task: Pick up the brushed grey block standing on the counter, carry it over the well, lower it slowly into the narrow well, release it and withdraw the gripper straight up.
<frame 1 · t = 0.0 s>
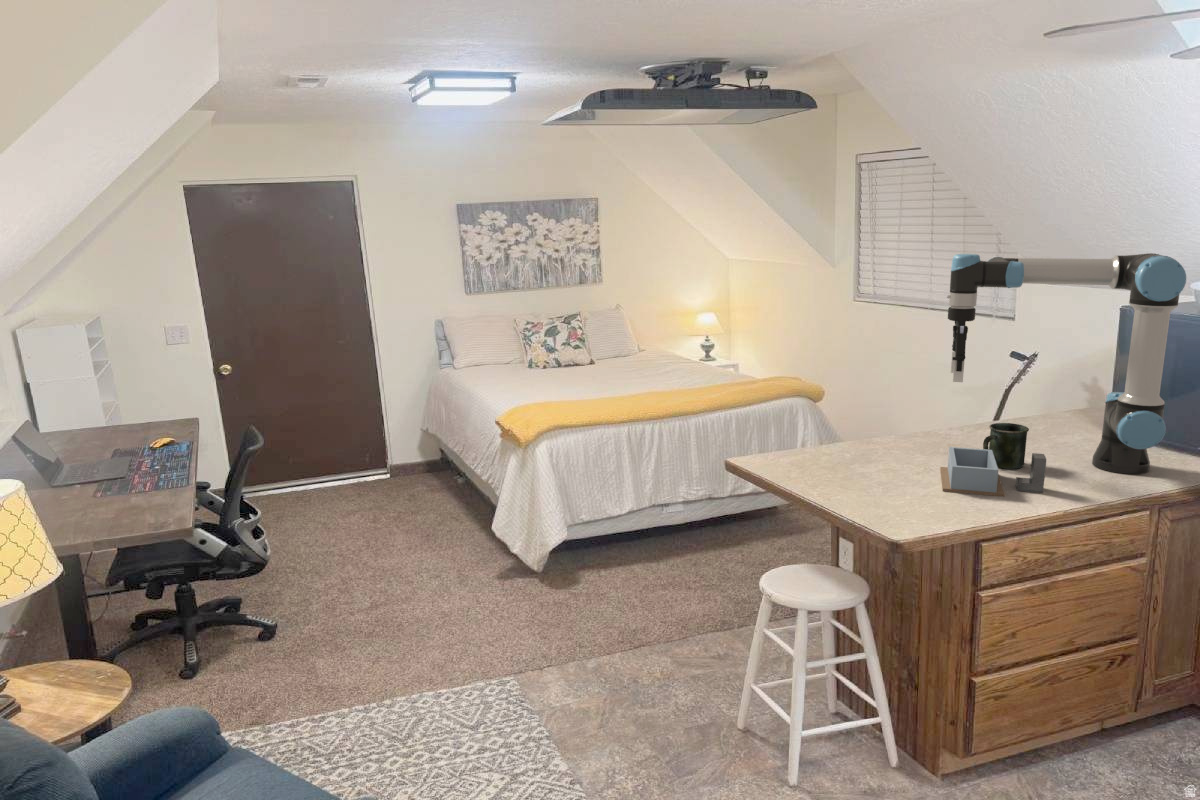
hand: (956, 377, 269), 28 cm above the table, fingers open, 13 cm apart
well: (970, 482, 260), on the table
mug: (1001, 465, 276), on the table
brushed grey block: (1035, 489, 253), on the table
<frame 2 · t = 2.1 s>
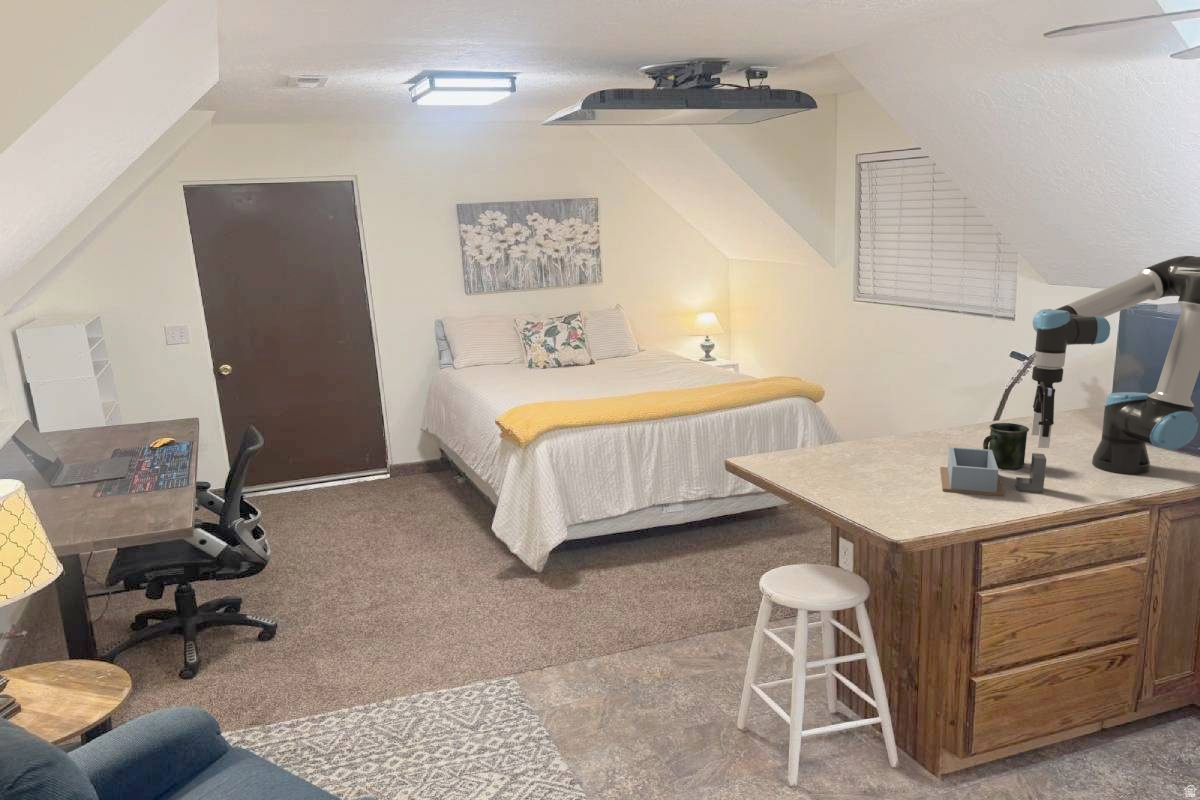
hand: (1039, 441, 250), 14 cm above the table, fingers open, 13 cm apart
nothing on the table moved.
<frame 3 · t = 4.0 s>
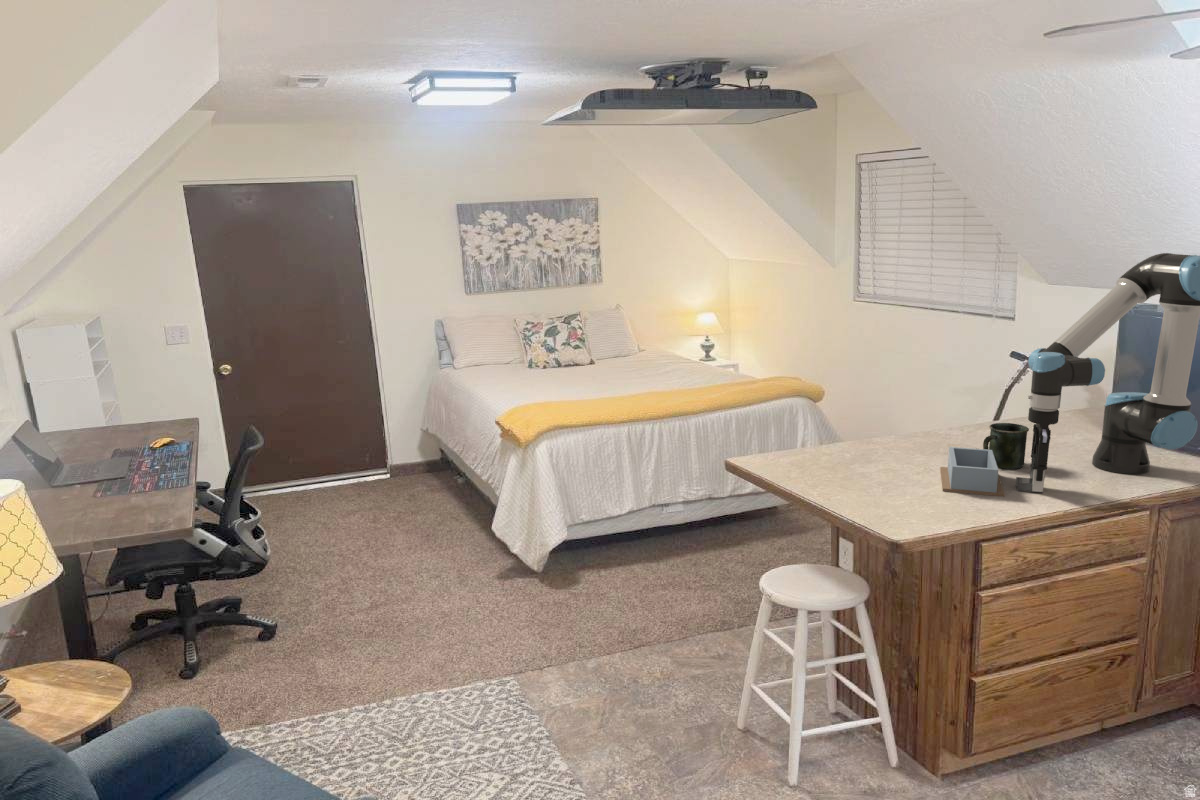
hand: (1036, 487, 253), 1 cm above the table, fingers closed on brushed grey block, 5 cm apart
brushed grey block: (1035, 489, 253), on the table, touching gripper
everything else where it was.
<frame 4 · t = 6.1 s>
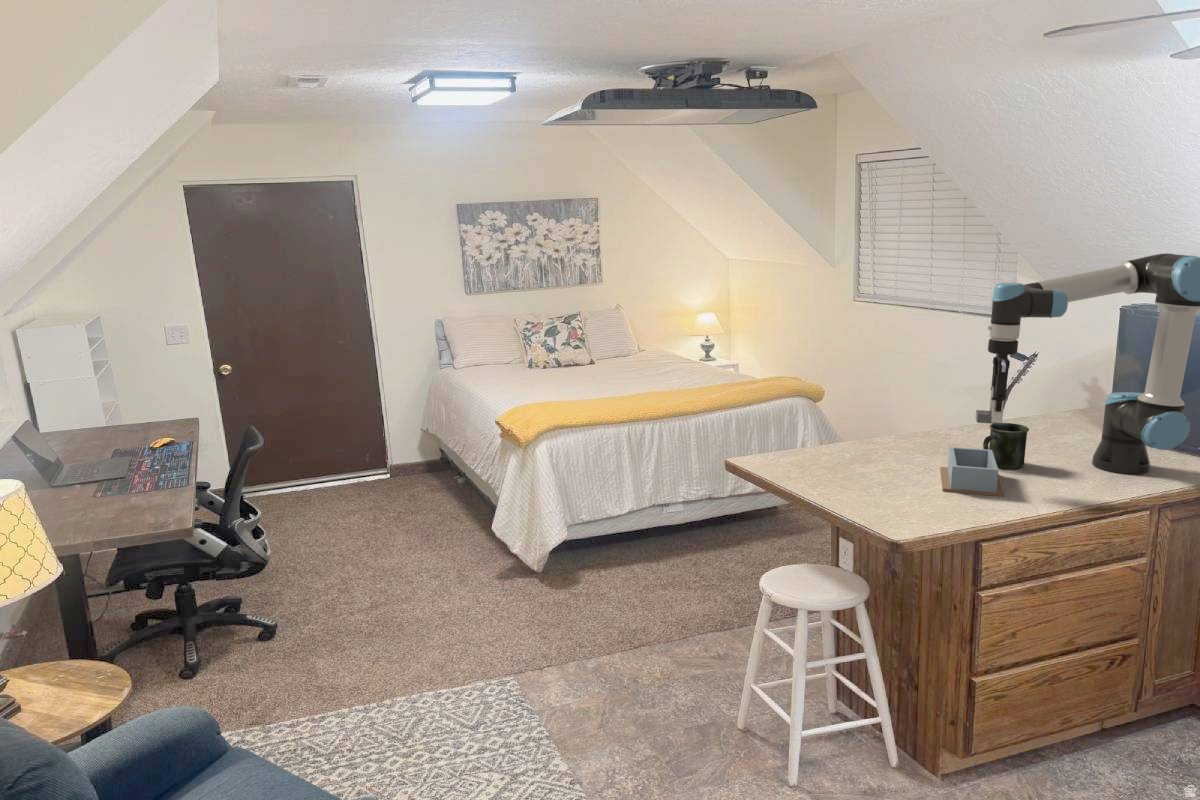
hand: (995, 419, 254), 19 cm above the table, fingers closed on brushed grey block, 5 cm apart
brushed grey block: (995, 421, 254), point 19 cm above the table, touching gripper
everything else where it was.
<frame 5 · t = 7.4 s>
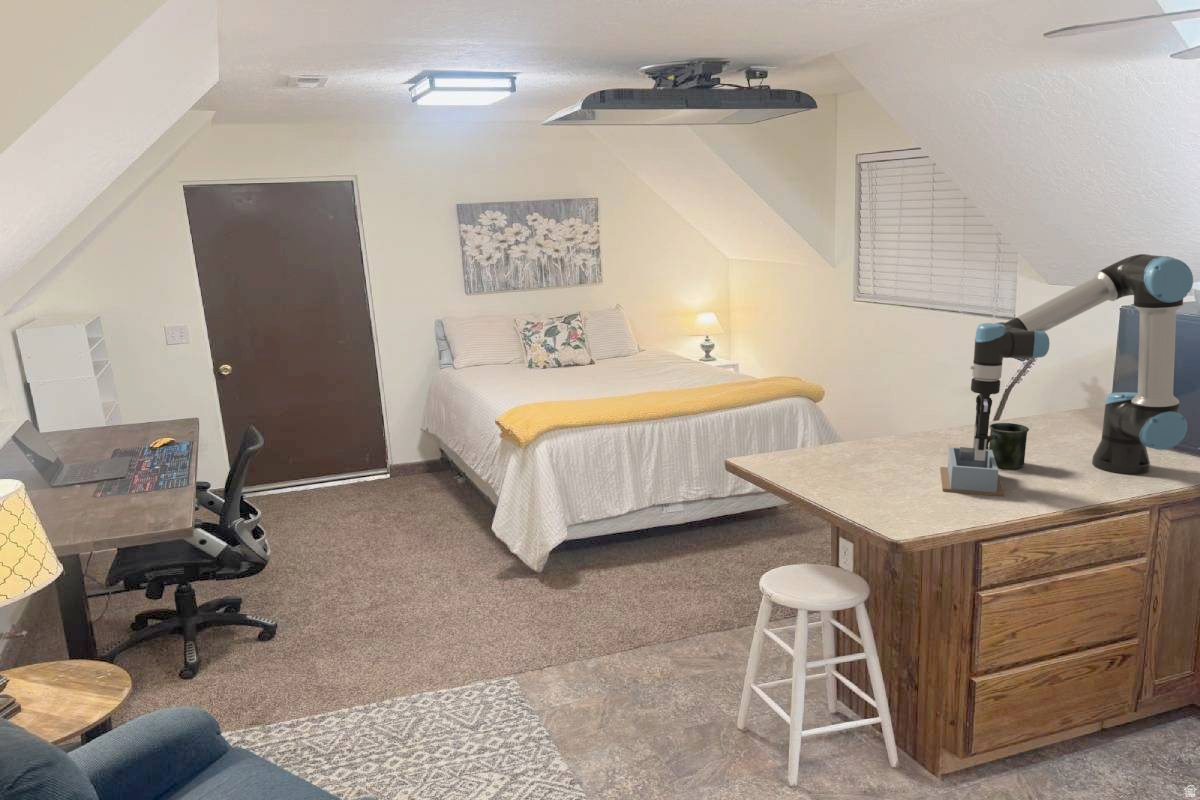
hand: (978, 457, 258), 8 cm above the table, fingers closed on brushed grey block, 5 cm apart
brushed grey block: (978, 459, 258), point 7 cm above the table, touching gripper
everything else where it was.
when the fingers open (3 cm above the table, at t = 8.6 s): brushed grey block drops 2 cm, resting on well.
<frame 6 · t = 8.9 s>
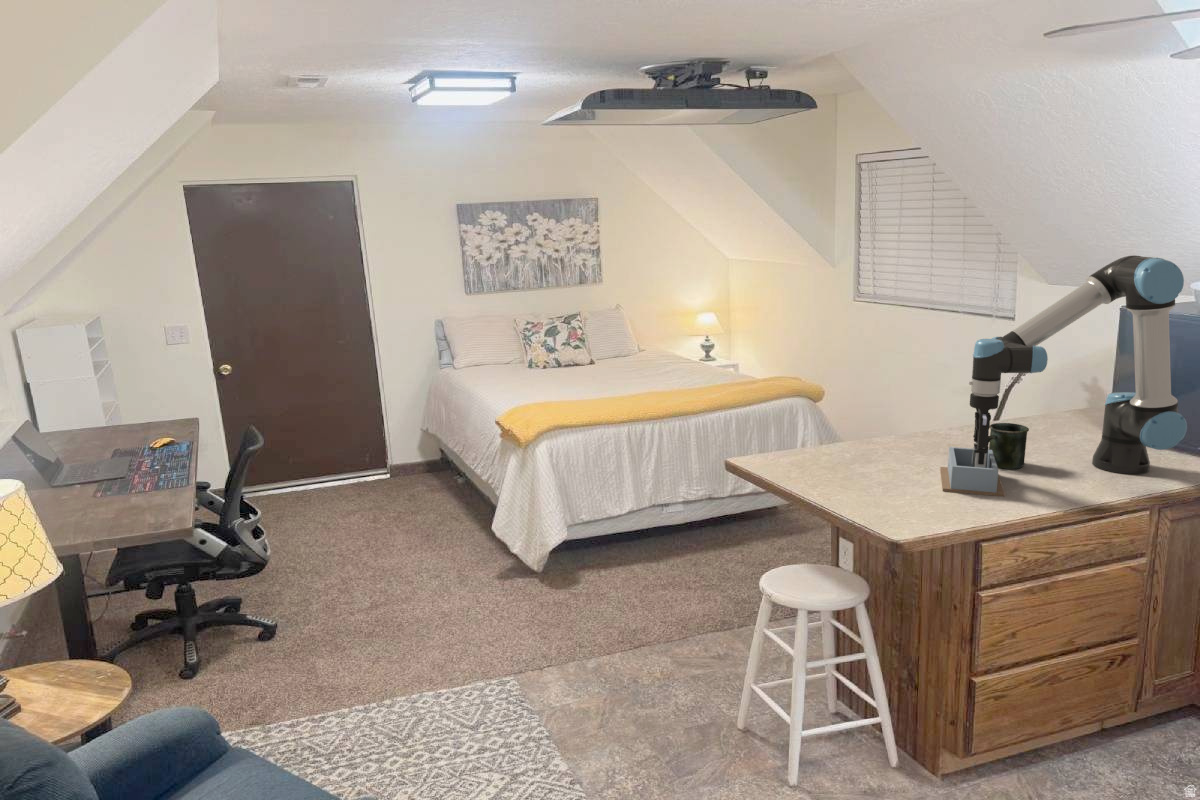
hand: (978, 469, 259), 4 cm above the table, fingers open, 9 cm apart
brushed grey block: (977, 480, 260), point 1 cm above the table, touching well
everything else where it was.
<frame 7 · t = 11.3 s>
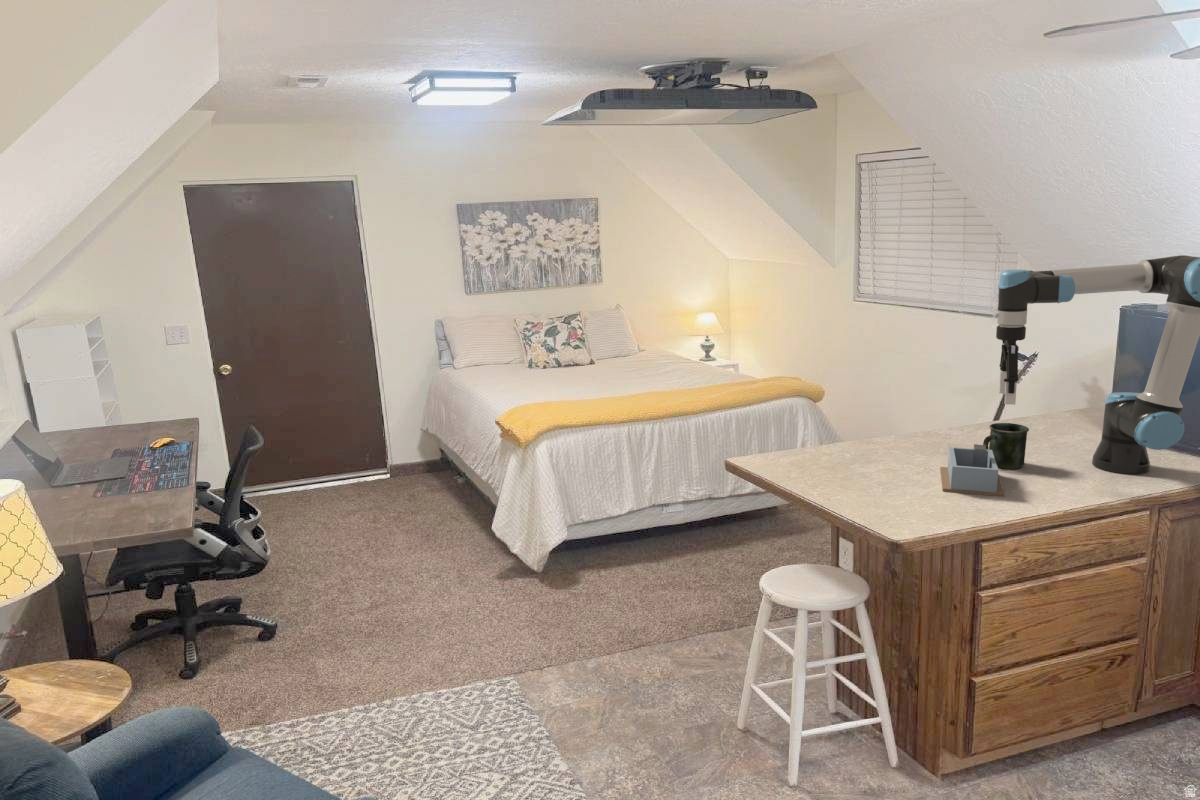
hand: (1006, 398, 256), 24 cm above the table, fingers open, 13 cm apart
nothing on the table moved.
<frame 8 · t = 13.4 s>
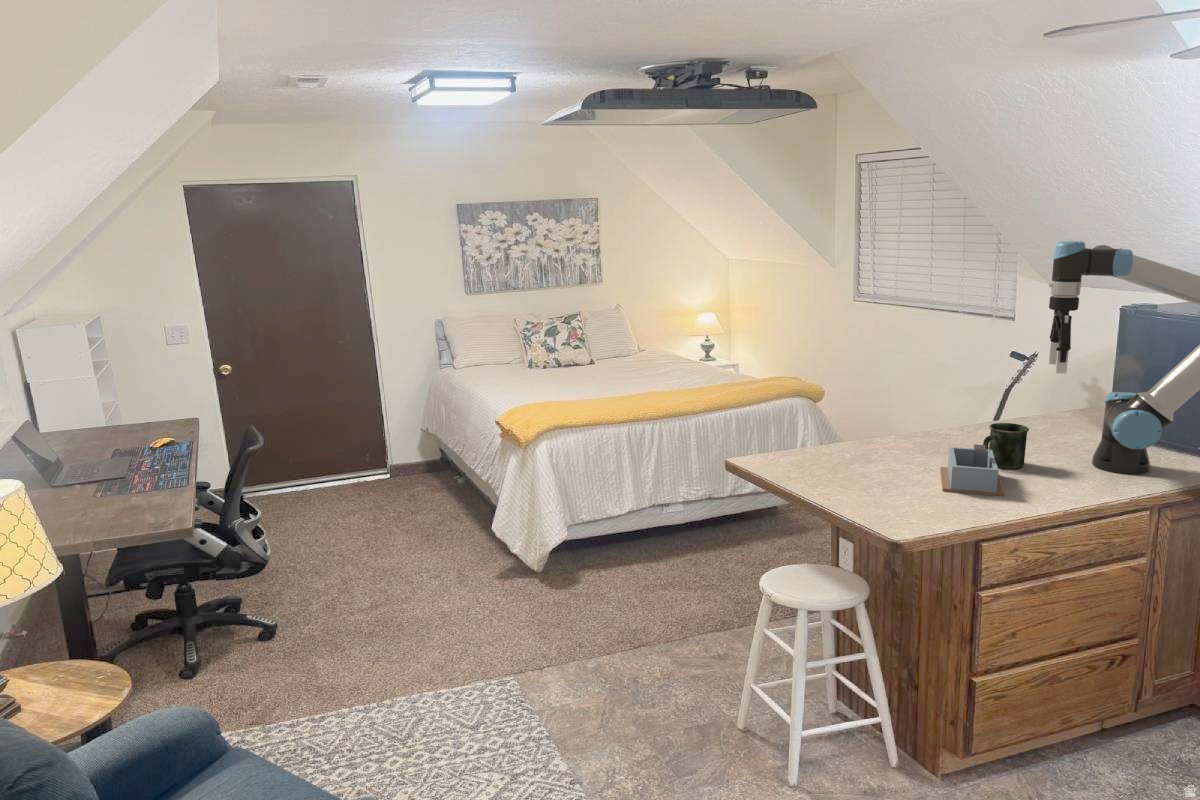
hand: (1057, 368, 261), 32 cm above the table, fingers open, 13 cm apart
nothing on the table moved.
at the end: brushed grey block inside the target area on the well (0.5 cm from its centre), point 0.8 cm above the well's base; brushed grey block tilted 0°; the gripper is holding nothing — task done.
